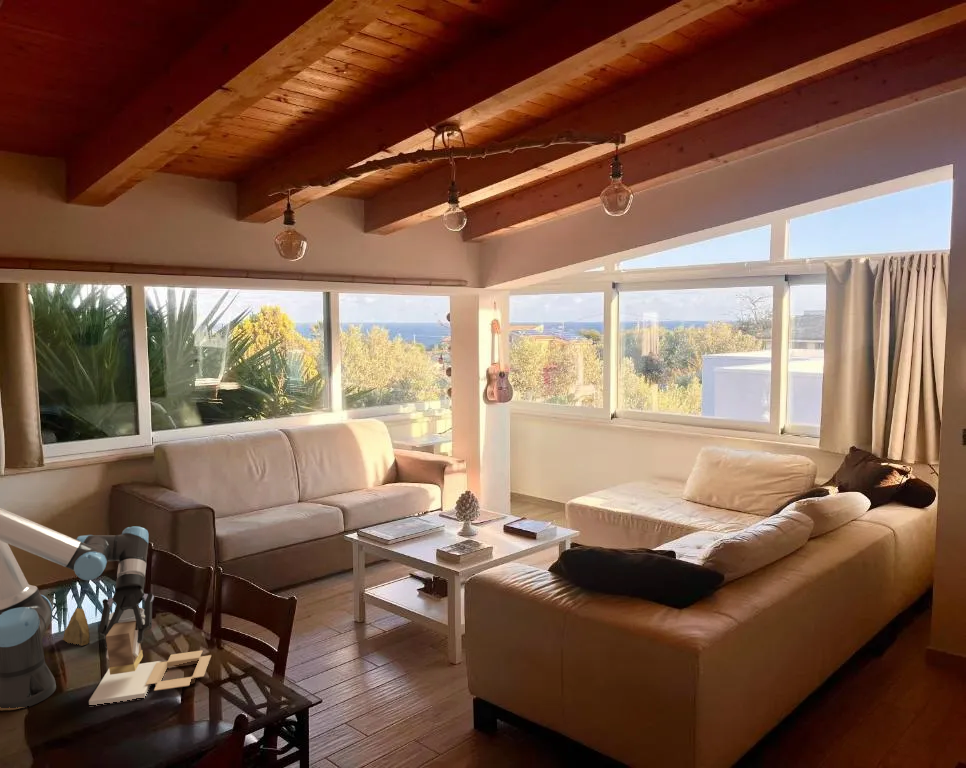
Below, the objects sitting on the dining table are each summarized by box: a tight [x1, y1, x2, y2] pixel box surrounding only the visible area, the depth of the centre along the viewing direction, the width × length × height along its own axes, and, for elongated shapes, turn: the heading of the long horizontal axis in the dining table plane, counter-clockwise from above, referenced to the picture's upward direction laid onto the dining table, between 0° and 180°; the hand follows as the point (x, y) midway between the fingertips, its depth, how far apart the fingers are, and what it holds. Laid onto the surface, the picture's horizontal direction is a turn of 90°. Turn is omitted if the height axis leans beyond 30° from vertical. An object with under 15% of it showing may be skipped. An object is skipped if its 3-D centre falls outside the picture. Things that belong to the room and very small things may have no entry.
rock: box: [62, 607, 91, 646], centre depth 237 cm, size 11×9×10 cm
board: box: [88, 660, 161, 706], centre depth 208 cm, size 14×18×2 cm
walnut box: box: [106, 621, 144, 675], centre depth 207 cm, size 6×8×11 cm
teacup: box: [107, 607, 145, 626], centre depth 238 cm, size 14×11×8 cm
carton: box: [146, 650, 212, 691], centre depth 212 cm, size 15×20×2 cm
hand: (122, 656), depth 205 cm, fingers closed on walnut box, 6 cm apart
